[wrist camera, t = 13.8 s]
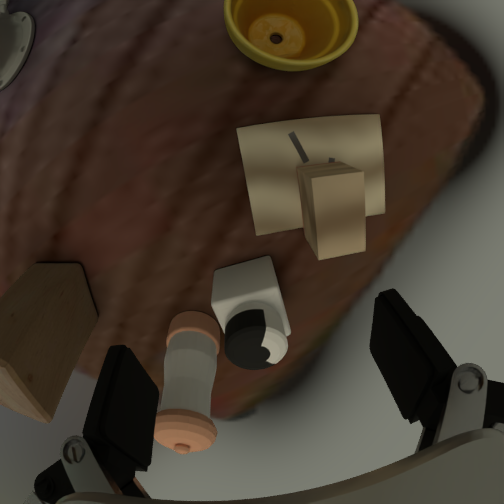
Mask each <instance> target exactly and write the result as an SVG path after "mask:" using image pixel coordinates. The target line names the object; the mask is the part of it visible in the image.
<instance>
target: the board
mask: <svg viewBox="0 0 504 504" xmlns="http://www.w3.org/2000/svg"><path fill="white" fill-rule="evenodd" d="M236 130H237V135H238V140H239V145H240V151H241V156H242V161H243V167H244V172H245V177H246V183H247V188H248V193H249V199H250V204H251V209H252V215H253V220H254V226H255V231H256V236H258V235H263V234H269V233H274V232H279V231H285V230H290V229H296V228H302V227H303V219H302V210H301V201H300V193H299V185H298V177H297V170H296V167H300V166H307V165H315V164H323V163H331V162H339V161H340V162H343V163H345V164H347V165H350V166H352V167H354V168H357V169H359V170H361V171H363V172H364V185H365V216H370V215H376V214H382V213H385V180H384V158H383V144H382V133H381V123H380V114H364V115H342V116H327V117H315V118H305V119H296V120H287V121H279V122H272V123H265V124H259V125H253V126H247V127H241V128H236Z"/></svg>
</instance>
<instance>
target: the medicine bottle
mask: <svg viewBox="0 0 504 504" xmlns="http://www.w3.org/2000/svg"><path fill="white" fill-rule="evenodd" d="M211 306H212V308H213V310H214V312H215V314H216V317H217V319H218V321H219V323H220V325H221V327H222V329H223V331H224V334H225V354H226V356H227V358H228V359H229V360H230V361H231V362H232V363H233V364H235V365H236V366H238V367H241V368H244V369H249V370H259V369H265V368H268V367H270V366H273V365H274V364H276V363H277V362H279V361H280V360H281V359H282V358H283V357H284V355H285V354H286V352H287V348H288V343H287V338H286V336H288V335H290V334H291V330H290V326H289V322H288V319H287V315H286V311H285V307H284V303H283V300H282V296H281V292H280V289H279V285H278V282H277V278H276V274H275V271H274V267H273V264H272V260H271V257H270V256H264V257H261V258H257V259H254V260H250V261H246V262H243V263H239V264H236V265H232V266H229V267H225V268H221V269H218V270H215V272H214V278H213V289H212V300H211Z"/></svg>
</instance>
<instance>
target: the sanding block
mask: <svg viewBox="0 0 504 504" xmlns="http://www.w3.org/2000/svg"><path fill="white" fill-rule="evenodd" d="M296 170H297V177H298V185H299V193H300V201H301V210H302V219H303V228H304V236H305V238H306V239H307V241H308V243H309V244H310V246H311V248H312V250H313V251H314V253H315V255H316V256H317V258H318V260H322V259H327V258H332V257H337V256H342V255H347V254H352V253H357V252H362V251H365V245H366V217H365V185H364V172H363V171H361V170H359V169H357V168H354V167H352V166H350V165H347V164H345V163H343V162H340V161H339V162H331V163H323V164H315V165H307V166H300V167H296Z"/></svg>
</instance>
